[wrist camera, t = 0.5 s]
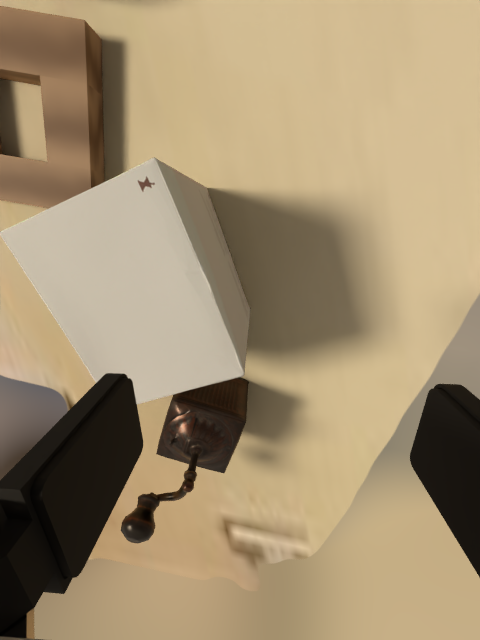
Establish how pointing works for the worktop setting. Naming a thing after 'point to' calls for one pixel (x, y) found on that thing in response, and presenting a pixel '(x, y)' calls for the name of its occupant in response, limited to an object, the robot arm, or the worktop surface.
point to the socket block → (55, 105)
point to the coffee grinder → (194, 443)
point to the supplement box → (140, 281)
